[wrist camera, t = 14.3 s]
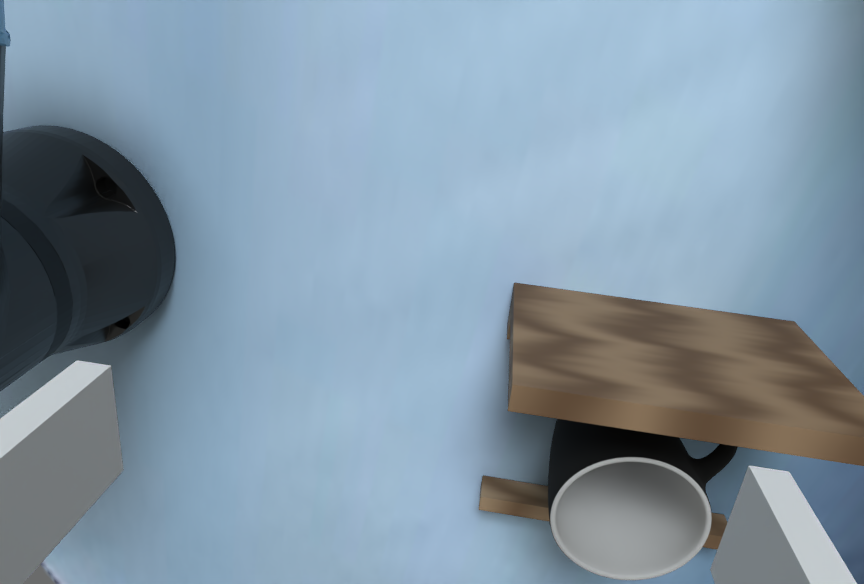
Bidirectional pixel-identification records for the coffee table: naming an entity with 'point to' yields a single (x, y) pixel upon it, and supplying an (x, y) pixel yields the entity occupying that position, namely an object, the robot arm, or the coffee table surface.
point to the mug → (628, 499)
